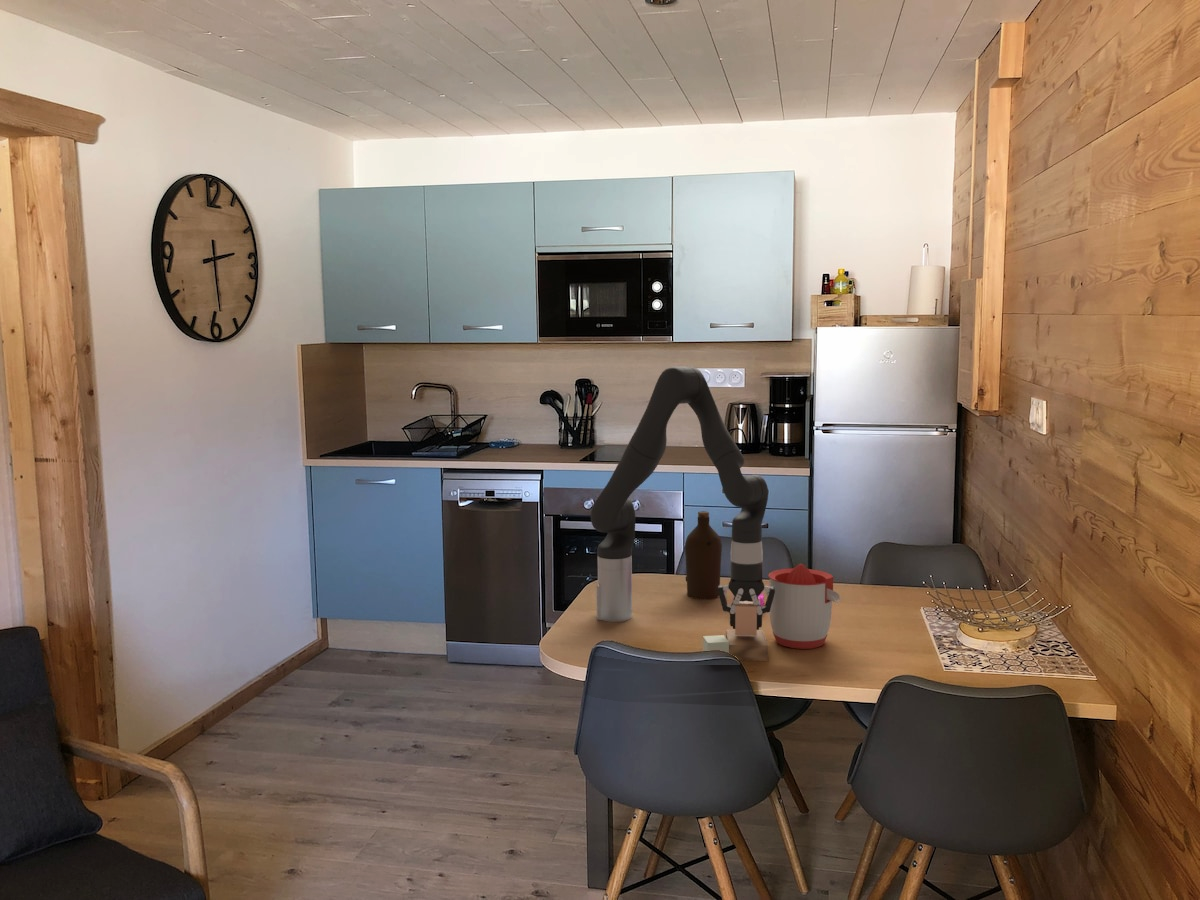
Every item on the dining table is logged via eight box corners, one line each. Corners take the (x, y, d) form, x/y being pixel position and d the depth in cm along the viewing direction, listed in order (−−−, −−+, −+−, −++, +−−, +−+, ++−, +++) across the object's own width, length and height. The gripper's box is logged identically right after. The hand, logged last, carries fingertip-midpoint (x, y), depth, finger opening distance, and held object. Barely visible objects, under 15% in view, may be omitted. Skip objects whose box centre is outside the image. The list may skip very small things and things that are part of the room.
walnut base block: (728, 661, 223) (728, 645, 222) (725, 645, 235) (726, 629, 234) (767, 662, 222) (767, 645, 222) (762, 645, 234) (762, 629, 234)
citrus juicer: (829, 658, 223) (830, 575, 221) (758, 647, 232) (759, 567, 229) (846, 639, 237) (848, 560, 234) (779, 629, 245) (780, 553, 243)
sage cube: (707, 663, 221) (707, 642, 220) (702, 656, 226) (702, 636, 225) (728, 662, 221) (728, 641, 221) (723, 655, 226) (723, 635, 226)
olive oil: (729, 596, 277) (729, 512, 274) (705, 603, 270) (705, 517, 267) (701, 589, 285) (701, 507, 282) (677, 596, 278) (677, 512, 275)
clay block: (735, 635, 226) (735, 606, 225) (735, 628, 231) (735, 600, 230) (756, 635, 225) (756, 607, 224) (756, 629, 230) (756, 601, 229)
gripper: (715, 562, 223) (715, 632, 225) (777, 563, 221) (776, 634, 223) (716, 554, 230) (716, 622, 232) (776, 556, 228) (775, 624, 230)
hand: (746, 628), depth 228 cm, fingers closed on clay block, 5 cm apart
